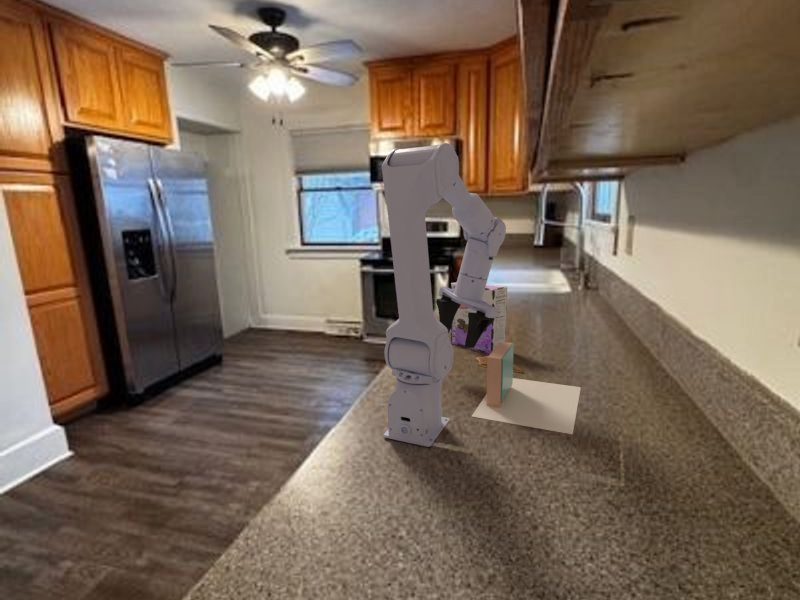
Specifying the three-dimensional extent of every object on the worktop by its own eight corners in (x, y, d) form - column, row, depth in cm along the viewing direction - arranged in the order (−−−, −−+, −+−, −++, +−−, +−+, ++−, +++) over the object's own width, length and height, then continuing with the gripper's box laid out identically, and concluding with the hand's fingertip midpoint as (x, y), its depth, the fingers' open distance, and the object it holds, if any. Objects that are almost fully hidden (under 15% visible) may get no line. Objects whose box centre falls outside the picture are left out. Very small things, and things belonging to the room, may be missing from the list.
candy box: (449, 343, 119) (449, 282, 115) (464, 339, 122) (464, 279, 119) (491, 355, 108) (493, 288, 105) (506, 350, 112) (508, 285, 109)
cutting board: (572, 437, 69) (572, 434, 69) (471, 419, 76) (471, 416, 76) (580, 390, 87) (580, 387, 87) (498, 378, 94) (498, 376, 93)
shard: (523, 378, 95) (524, 370, 95) (489, 381, 94) (489, 373, 93) (503, 361, 105) (503, 354, 105) (472, 364, 104) (472, 356, 104)
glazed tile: (501, 408, 78) (502, 359, 77) (486, 405, 80) (487, 357, 78) (512, 387, 87) (514, 343, 86) (499, 385, 88) (500, 341, 87)
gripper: (514, 287, 86) (495, 353, 89) (462, 268, 97) (446, 327, 100) (490, 284, 81) (471, 354, 84) (438, 265, 92) (422, 327, 95)
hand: (456, 340), depth 92 cm, fingers open, 7 cm apart
